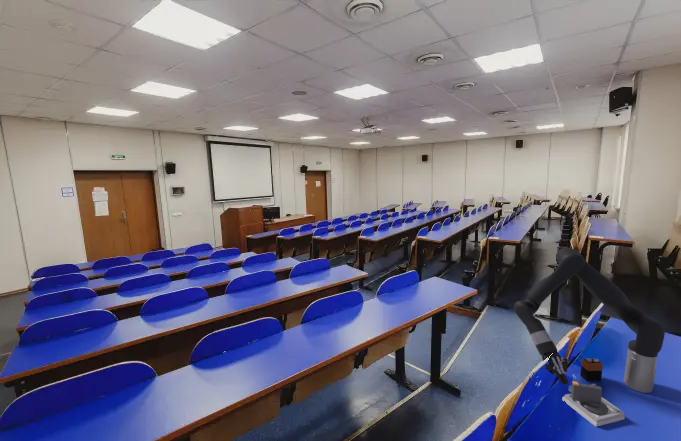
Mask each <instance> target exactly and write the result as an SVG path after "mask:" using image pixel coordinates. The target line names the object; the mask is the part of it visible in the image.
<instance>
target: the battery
mask: <svg viewBox="0 0 681 441" xmlns="http://www.w3.org/2000/svg"><path fill="white" fill-rule="evenodd" d="M603 367H604V363H602V362H601V361H600V360H599V359H598V358H595V357H594V358H588V357H587V358H586V357H585V358H581V364H580V373H579V374H580V375H579V376H580V377H582V379H584V380H585V381H586V382H602V375H603Z"/></svg>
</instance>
